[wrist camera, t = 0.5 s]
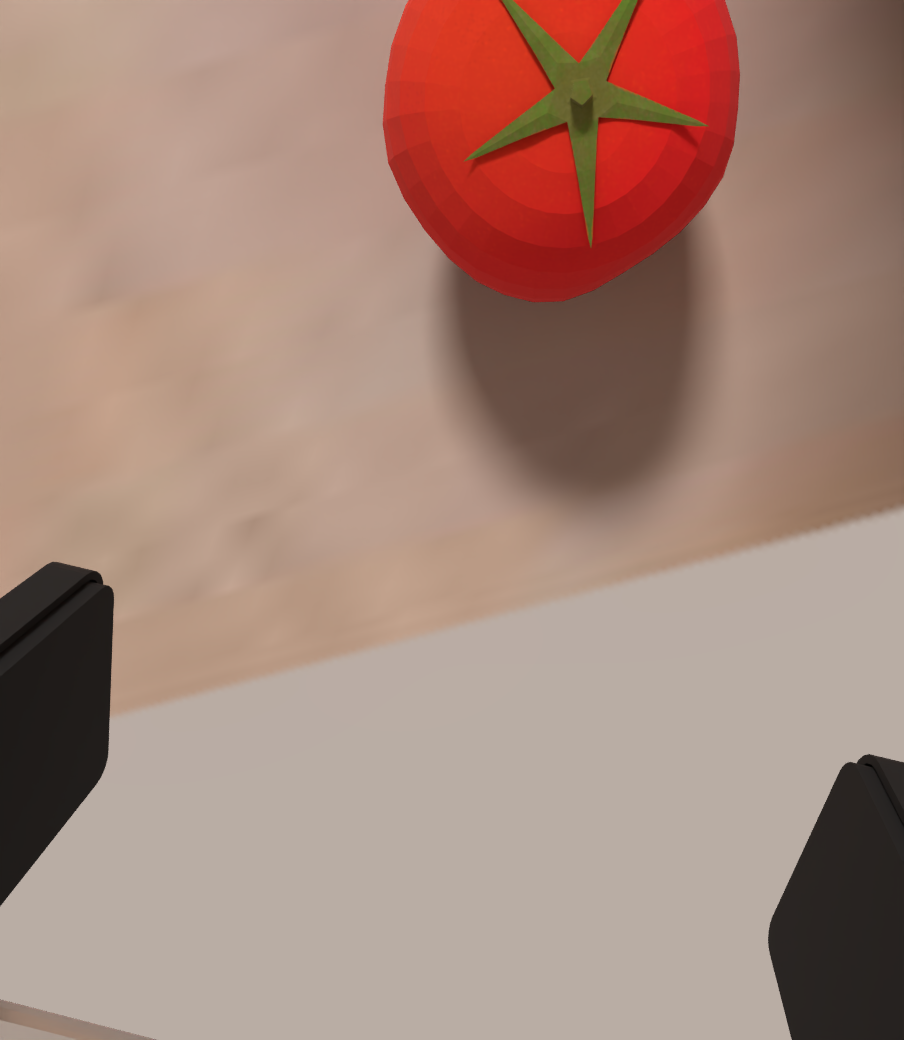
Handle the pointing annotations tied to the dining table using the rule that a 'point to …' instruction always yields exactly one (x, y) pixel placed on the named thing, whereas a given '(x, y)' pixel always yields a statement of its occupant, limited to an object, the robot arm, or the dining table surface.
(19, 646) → the robot arm
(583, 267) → the tomato
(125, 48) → the dining table surface
